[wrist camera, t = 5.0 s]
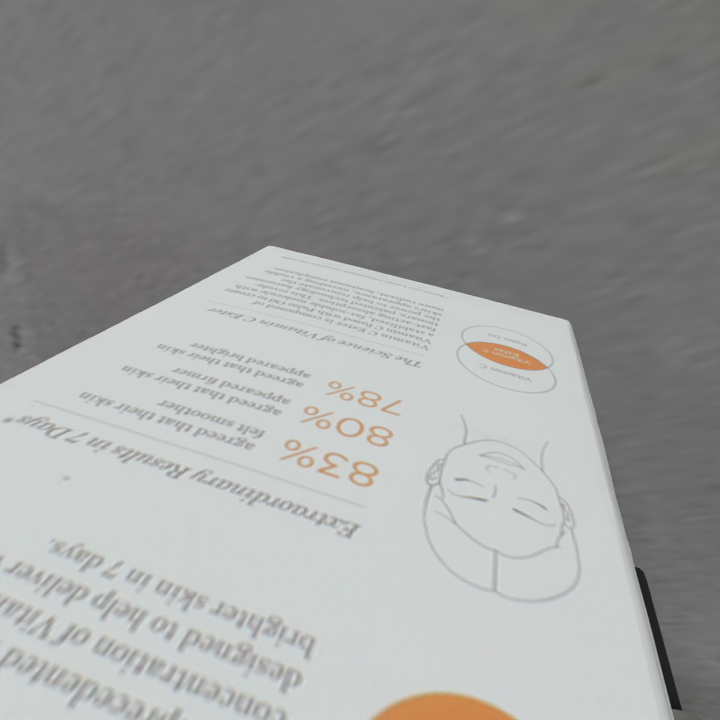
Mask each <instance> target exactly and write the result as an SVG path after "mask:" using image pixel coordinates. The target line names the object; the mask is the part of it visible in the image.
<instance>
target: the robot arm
mask: <svg viewBox="0 0 720 720" xmlns="http://www.w3.org/2000/svg"><path fill="white" fill-rule="evenodd" d="M635 571H636V574H637V578H638V582H639V585H640V589H641V593H642V596H643V600H644V604H645V607H646V611H647V615H648V619H649V623H650V627H651V631H652V634H653V638H654V642H655V646H656V650H657V654H658V658H659V662H660V666H661V670H662V674H663V678H664V681H665V685H666V689H667V693H668V697H669V701H670V705H671V709H672V713H673V717H674V720H702V719H700V718H698V717H695V716H693V715H691V714H689V713H687V712H684V711H682V708H681V705H680V701H679V697H678V694H677V690H676V686H675V683H674V679H673V675H672V672H671V668H670V664H669V661H668V657H667V653H666V650H665V646H664V642H663V639H662V635H661V631H660V628H659V624H658V620H657V616H656V613H655V609H654V605H653V602H652V598H651V594H650V591H649V587H648V583H647V580H646V577H645V575H644V572H643V571H642V570H641V569H640V568H637V567H635Z"/></svg>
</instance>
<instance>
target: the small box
mask: <svg viewBox="0 0 720 720" xmlns="http://www.w3.org/2000/svg"><path fill="white" fill-rule="evenodd" d="M0 720H674V717H673V713H672V709H671V705H670V701H669V697H668V693H667V689H666V685H665V681H664V678H663V674H662V670H661V666H660V662H659V658H658V654H657V650H656V646H655V642H654V638H653V634H652V631H651V627H650V623H649V619H648V615H647V611H646V607H645V604H644V600H643V596H642V593H641V589H640V585H639V582H638V578H637V574H636V571H635V567H634V563H633V559H632V554H631V550H630V547H629V544H628V541H627V537H626V533H625V530H624V526H623V522H622V518H621V514H620V510H619V507H618V503H617V500H616V496H615V491H614V487H613V483H612V478H611V474H610V470H609V466H608V461H607V457H606V453H605V449H604V445H603V441H602V437H601V434H600V430H599V427H598V423H597V419H596V414H595V410H594V406H593V403H592V399H591V395H590V392H589V388H588V384H587V380H586V377H585V373H584V369H583V365H582V361H581V358H580V354H579V351H578V347H577V343H576V340H575V336H574V333H573V329H572V326H571V324H570V322H569V321H567V320H564V319H560V318H556V317H553V316H549V315H545V314H541V313H537V312H533V311H529V310H525V309H521V308H518V307H514V306H510V305H506V304H502V303H498V302H494V301H491V300H487V299H483V298H479V297H475V296H471V295H467V294H463V293H459V292H455V291H451V290H447V289H443V288H439V287H435V286H431V285H427V284H423V283H419V282H415V281H411V280H407V279H403V278H400V277H396V276H392V275H388V274H384V273H380V272H376V271H372V270H368V269H364V268H360V267H356V266H352V265H348V264H344V263H340V262H336V261H332V260H328V259H323V258H319V257H315V256H311V255H307V254H302V253H298V252H294V251H290V250H286V249H282V248H278V247H273V246H267V247H265V248H263V249H261V250H260V251H258V252H256V253H254V254H252V255H250V256H248V257H247V258H245V259H243V260H241V261H239V262H237V263H235V264H233V265H231V266H229V267H227V268H225V269H223V270H221V271H219V272H217V273H215V274H214V275H212V276H210V277H208V278H206V279H204V280H202V281H200V282H199V283H197V284H195V285H193V286H191V287H189V288H187V289H185V290H183V291H181V292H179V293H177V294H175V295H174V296H172V297H170V298H168V299H166V300H164V301H162V302H160V303H158V304H156V305H154V306H152V307H150V308H148V309H146V310H144V311H142V312H140V313H138V314H136V315H134V316H132V317H131V318H129V319H127V320H125V321H123V322H121V323H119V324H117V325H115V326H113V327H111V328H109V329H107V330H105V331H103V332H101V333H99V334H98V335H96V336H94V337H91V338H89V339H87V340H85V341H83V342H81V343H79V344H77V345H75V346H73V347H71V348H70V349H68V350H66V351H64V352H62V353H60V354H58V355H56V356H54V357H52V358H50V359H48V360H46V361H45V362H43V363H41V364H39V365H37V366H35V367H33V368H31V369H29V370H27V371H25V372H23V373H21V374H19V375H17V376H15V377H13V378H11V379H9V380H8V381H6V382H4V383H2V384H0Z"/></svg>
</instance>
